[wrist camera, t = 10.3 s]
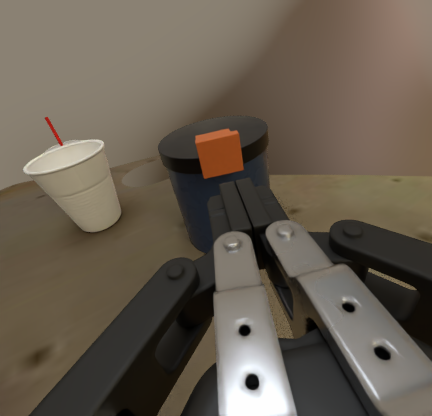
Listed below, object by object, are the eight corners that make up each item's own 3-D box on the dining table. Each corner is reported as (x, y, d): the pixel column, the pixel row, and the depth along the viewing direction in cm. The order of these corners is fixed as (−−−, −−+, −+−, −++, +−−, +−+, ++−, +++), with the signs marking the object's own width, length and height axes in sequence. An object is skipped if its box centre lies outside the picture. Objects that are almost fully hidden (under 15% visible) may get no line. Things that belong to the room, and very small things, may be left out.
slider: (243, 170, 19) (239, 133, 18) (204, 179, 19) (195, 142, 18) (231, 145, 24) (226, 113, 22) (199, 152, 24) (191, 121, 22)
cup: (122, 195, 44) (94, 134, 37) (144, 218, 36) (112, 148, 30) (64, 222, 40) (21, 160, 33) (75, 254, 33) (23, 182, 26)
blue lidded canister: (287, 245, 27) (284, 139, 20) (189, 267, 27) (152, 169, 20) (260, 194, 36) (251, 108, 29) (186, 210, 36) (160, 129, 29)
